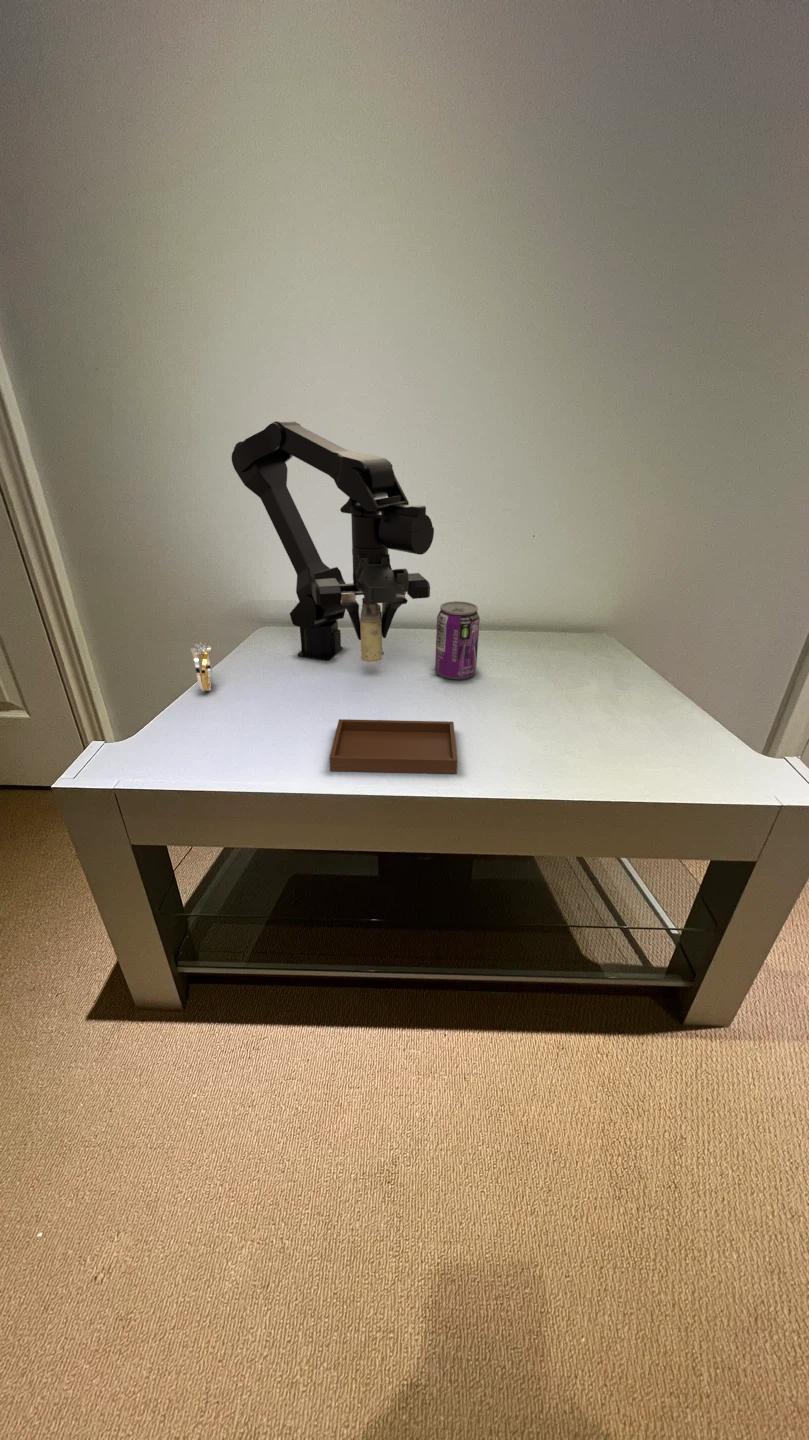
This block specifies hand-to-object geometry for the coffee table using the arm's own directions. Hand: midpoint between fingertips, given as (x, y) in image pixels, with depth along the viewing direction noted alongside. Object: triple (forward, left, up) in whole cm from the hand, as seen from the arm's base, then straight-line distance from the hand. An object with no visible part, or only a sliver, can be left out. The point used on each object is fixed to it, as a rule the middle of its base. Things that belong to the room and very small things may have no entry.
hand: (371, 638), depth 101 cm
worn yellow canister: (0, 0, -3) cm, 3 cm away
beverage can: (+14, +4, -6) cm, 16 cm away
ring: (-22, -17, -6) cm, 28 cm away
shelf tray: (+13, -24, -6) cm, 28 cm away
